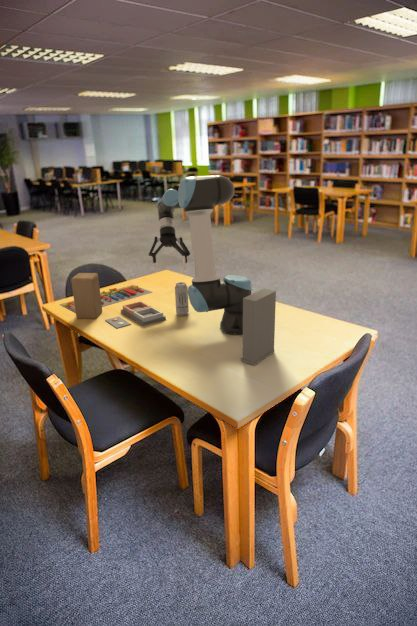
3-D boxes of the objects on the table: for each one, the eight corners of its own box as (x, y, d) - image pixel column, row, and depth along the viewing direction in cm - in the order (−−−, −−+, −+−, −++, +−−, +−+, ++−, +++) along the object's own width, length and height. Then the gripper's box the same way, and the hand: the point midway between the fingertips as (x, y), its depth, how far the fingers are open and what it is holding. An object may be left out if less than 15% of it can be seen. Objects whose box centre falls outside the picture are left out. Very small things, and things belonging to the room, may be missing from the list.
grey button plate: (130, 324, 199) (130, 323, 199) (116, 328, 195) (116, 327, 195) (119, 317, 208) (118, 315, 208) (105, 320, 204) (105, 319, 204)
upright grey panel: (261, 348, 173) (262, 288, 164) (274, 352, 170) (276, 291, 161) (240, 361, 164) (240, 297, 154) (254, 366, 160) (255, 301, 151)
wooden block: (103, 311, 216) (98, 272, 208) (96, 319, 206) (91, 278, 199) (83, 311, 217) (78, 272, 209) (75, 319, 207) (70, 278, 200)
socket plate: (165, 319, 204) (165, 312, 203) (142, 325, 197) (142, 318, 196) (142, 306, 221) (142, 300, 219) (121, 312, 214) (120, 305, 213)
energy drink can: (177, 316, 207) (175, 286, 202) (175, 312, 213) (173, 282, 207) (189, 315, 208) (188, 285, 203) (187, 311, 214) (186, 281, 208)
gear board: (132, 281, 254) (152, 289, 241) (132, 285, 255) (152, 293, 242) (59, 300, 226) (77, 310, 213) (59, 305, 227) (77, 315, 214)
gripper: (189, 232, 224) (193, 272, 219) (140, 231, 216) (144, 271, 211) (193, 226, 217) (197, 266, 212) (143, 224, 210) (146, 266, 204)
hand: (171, 269), depth 212 cm, fingers open, 13 cm apart
